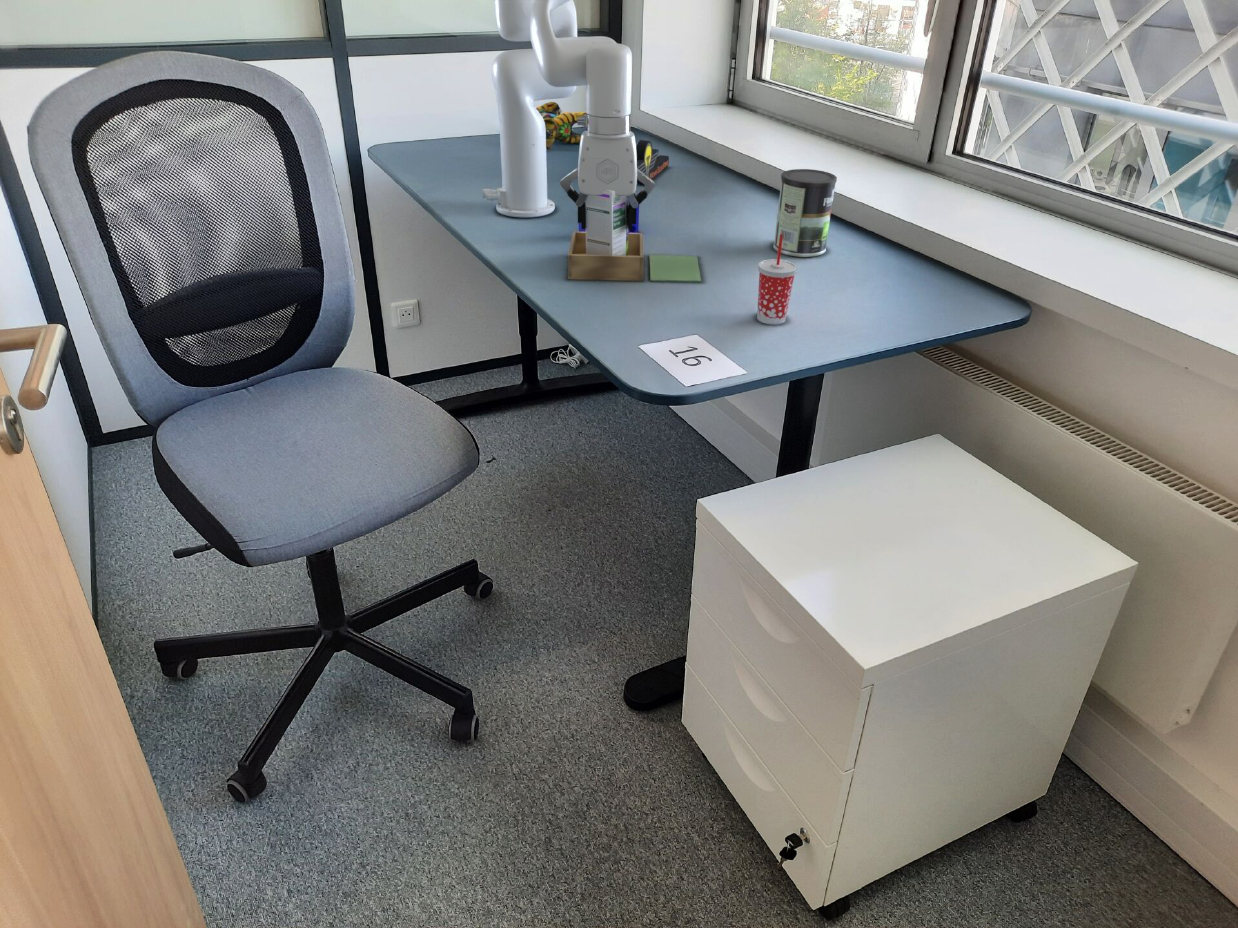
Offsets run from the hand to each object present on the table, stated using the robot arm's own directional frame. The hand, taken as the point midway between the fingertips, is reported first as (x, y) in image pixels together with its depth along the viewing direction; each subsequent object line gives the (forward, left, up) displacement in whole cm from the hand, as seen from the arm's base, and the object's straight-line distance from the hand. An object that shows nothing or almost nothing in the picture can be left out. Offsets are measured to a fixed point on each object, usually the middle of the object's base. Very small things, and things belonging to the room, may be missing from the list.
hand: (607, 227), depth 158 cm
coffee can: (+37, +13, -8) cm, 40 cm away
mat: (+12, 0, -8) cm, 15 cm away
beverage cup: (+27, -22, -8) cm, 36 cm away
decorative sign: (+8, +61, -8) cm, 62 cm away
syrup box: (0, 0, -7) cm, 7 cm away
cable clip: (-1, +19, -8) cm, 21 cm away
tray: (0, 0, -8) cm, 8 cm away
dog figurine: (-19, +96, -8) cm, 98 cm away
